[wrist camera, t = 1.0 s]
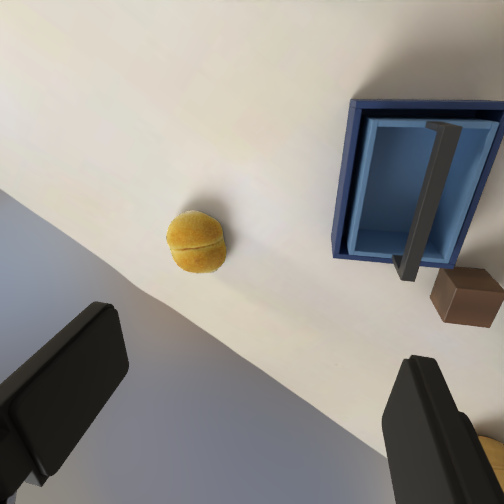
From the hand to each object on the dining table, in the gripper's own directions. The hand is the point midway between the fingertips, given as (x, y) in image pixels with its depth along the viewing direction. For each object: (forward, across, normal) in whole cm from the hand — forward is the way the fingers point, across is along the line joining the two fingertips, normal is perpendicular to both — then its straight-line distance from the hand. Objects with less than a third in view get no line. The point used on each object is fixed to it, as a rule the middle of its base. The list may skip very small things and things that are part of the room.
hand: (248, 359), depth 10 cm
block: (+30, -21, +13) cm, 39 cm away
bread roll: (+30, +13, +11) cm, 34 cm away
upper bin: (+29, -11, 0) cm, 31 cm away
